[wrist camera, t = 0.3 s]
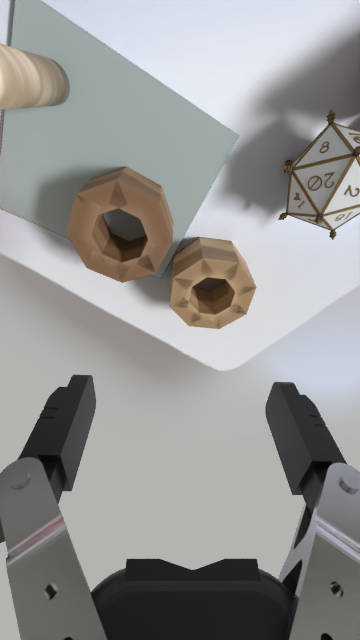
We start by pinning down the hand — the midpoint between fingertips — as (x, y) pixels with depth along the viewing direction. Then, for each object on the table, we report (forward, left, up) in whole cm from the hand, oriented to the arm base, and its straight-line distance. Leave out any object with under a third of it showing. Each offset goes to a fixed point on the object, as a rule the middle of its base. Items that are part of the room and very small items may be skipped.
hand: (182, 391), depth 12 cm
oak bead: (+4, +6, -21) cm, 23 cm away
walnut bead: (+2, -5, -21) cm, 21 cm away
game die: (-10, +9, -22) cm, 25 cm away
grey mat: (-1, -8, -21) cm, 23 cm away
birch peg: (-5, -14, -21) cm, 26 cm away
